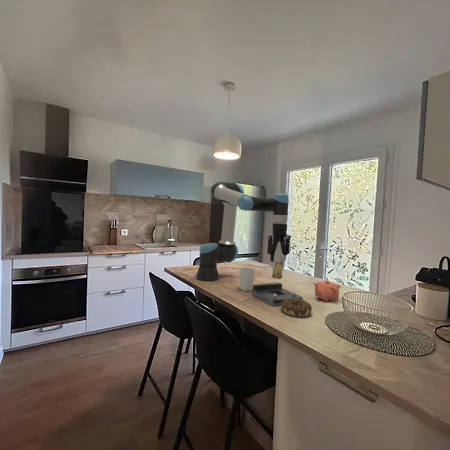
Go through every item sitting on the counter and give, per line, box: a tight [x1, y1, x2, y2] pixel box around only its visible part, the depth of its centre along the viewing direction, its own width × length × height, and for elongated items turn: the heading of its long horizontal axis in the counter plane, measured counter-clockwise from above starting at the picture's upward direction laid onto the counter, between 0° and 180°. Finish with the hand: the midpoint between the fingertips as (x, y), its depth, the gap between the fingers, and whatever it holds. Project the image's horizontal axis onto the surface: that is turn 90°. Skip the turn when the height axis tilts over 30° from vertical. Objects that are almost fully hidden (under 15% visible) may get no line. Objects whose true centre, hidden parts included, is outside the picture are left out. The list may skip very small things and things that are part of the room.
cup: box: [238, 267, 256, 292], centre depth 156 cm, size 9×9×12 cm
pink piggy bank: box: [312, 280, 341, 303], centre depth 143 cm, size 14×12×10 cm
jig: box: [251, 282, 304, 308], centre depth 141 cm, size 20×18×5 cm
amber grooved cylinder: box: [271, 261, 284, 280], centre depth 140 cm, size 5×5×8 cm
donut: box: [280, 299, 313, 318], centre depth 122 cm, size 14×14×5 cm
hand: (277, 267), depth 140 cm, fingers closed on amber grooved cylinder, 5 cm apart
